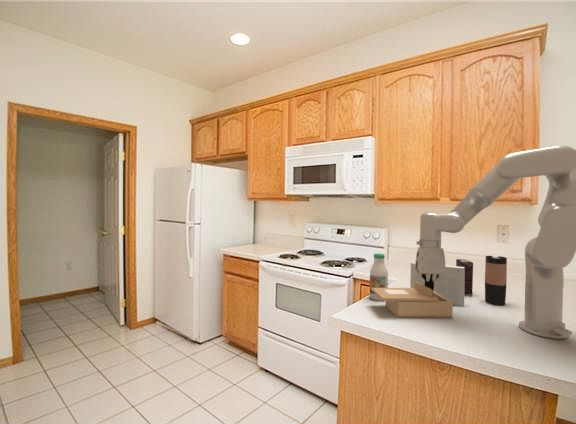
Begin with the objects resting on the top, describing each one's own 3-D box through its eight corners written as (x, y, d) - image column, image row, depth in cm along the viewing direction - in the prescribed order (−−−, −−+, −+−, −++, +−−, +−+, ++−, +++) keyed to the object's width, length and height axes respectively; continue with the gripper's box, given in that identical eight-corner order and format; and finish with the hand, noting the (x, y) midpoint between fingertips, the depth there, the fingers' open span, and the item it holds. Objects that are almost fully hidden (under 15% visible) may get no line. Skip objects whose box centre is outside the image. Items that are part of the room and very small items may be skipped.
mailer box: (452, 318, 109) (452, 302, 109) (398, 317, 109) (398, 301, 108) (433, 305, 123) (433, 291, 123) (385, 305, 123) (385, 290, 122)
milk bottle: (373, 295, 137) (374, 252, 137) (390, 298, 132) (391, 254, 132) (366, 298, 131) (367, 254, 131) (383, 302, 126) (384, 256, 126)
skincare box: (464, 303, 126) (465, 266, 126) (463, 307, 122) (464, 268, 122) (412, 295, 138) (412, 261, 138) (409, 297, 133) (410, 263, 133)
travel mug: (496, 306, 123) (497, 258, 122) (480, 301, 130) (481, 255, 130) (510, 305, 125) (511, 258, 124) (493, 299, 132) (494, 255, 132)
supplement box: (473, 296, 136) (473, 262, 136) (461, 295, 137) (462, 261, 137) (465, 291, 145) (466, 259, 145) (455, 290, 146) (455, 258, 146)
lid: (437, 301, 108) (438, 290, 108) (382, 300, 108) (382, 290, 108) (419, 290, 123) (420, 280, 123) (371, 290, 123) (371, 280, 123)
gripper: (415, 245, 112) (414, 293, 112) (454, 245, 112) (453, 294, 112) (407, 242, 119) (406, 288, 119) (444, 243, 119) (442, 288, 120)
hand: (429, 290), depth 116 cm, fingers closed
